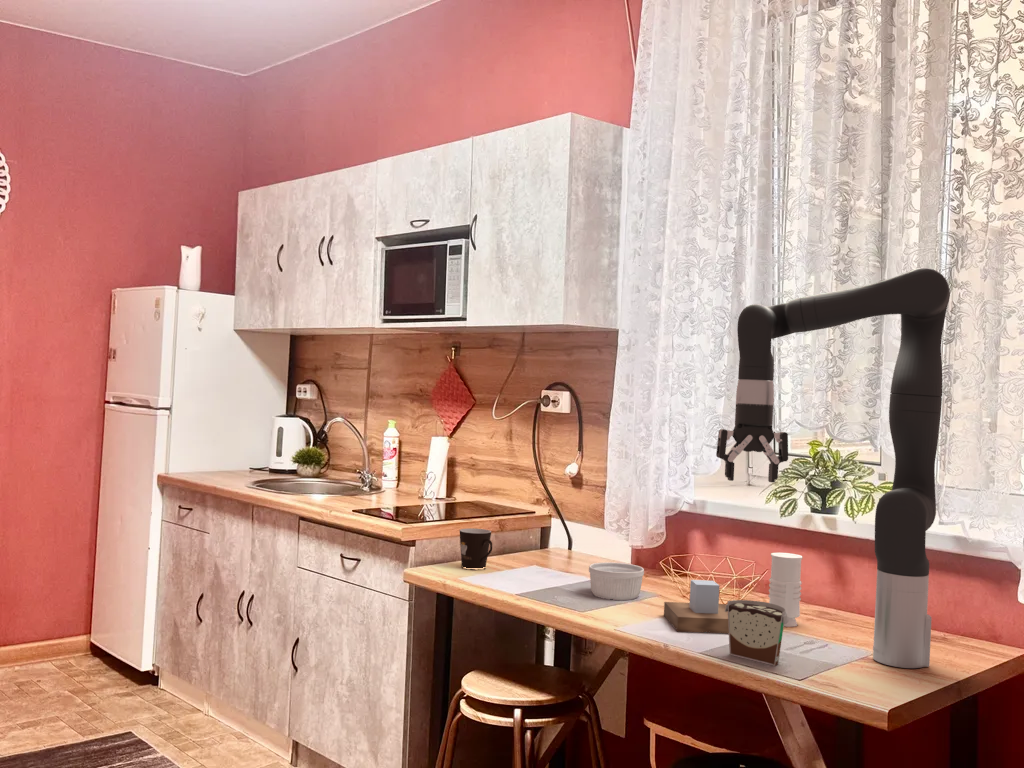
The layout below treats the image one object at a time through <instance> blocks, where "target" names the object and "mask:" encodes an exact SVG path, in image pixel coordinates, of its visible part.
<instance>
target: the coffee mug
mask: <svg viewBox="0 0 1024 768" xmlns="http://www.w3.org/2000/svg"><path fill="white" fill-rule="evenodd" d="M491 537H492V530H489V529H486V528H485V529H484V528H471V527H470V528H469V527H468V528H461V529H459V543H460V560H461V562H460V563H461V567H462V566H463V567H466V568H483V567H487V566H486V565H487V560H488V557H489V556H490V554H491V553H492V550H493V542H492V540H491Z"/></svg>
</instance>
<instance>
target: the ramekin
mask: <svg viewBox="0 0 1024 768" xmlns="http://www.w3.org/2000/svg"><path fill="white" fill-rule="evenodd" d="M588 573H589V578H590V579H589V580H590V589H591V593H593V596H595V595H596V596H595V597H597V596H599V597H598V598H600V597H602V598H601V599H604V598H606V599H605V600H610V599H613V600H612V601H632V600H636V599H637V598H638V596H640V594H641V589H642V584H643V583H642V582H643V576H644V575H645V568H643V567H642V566H640V565H637V564H636V565H635V564H631V563H625V562H614V561H613V562H612V561H611V562H610V561H609V562H607V561H605V562H594V563H591V564H590V565H589V566H588Z"/></svg>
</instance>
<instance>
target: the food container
mask: <svg viewBox="0 0 1024 768" xmlns="http://www.w3.org/2000/svg"><path fill="white" fill-rule="evenodd" d="M726 611H728V628H729V633H728V642H729V643H728V644H729V645H728V646H729V655H731V656H733V657H738V658H741V659H742V658H743V659H745V660H751V661H755V662H758V663H762V664H766V665H770V666H774V667H776V666H778V664H779V659H780V654H781V647H782V639H783V633H784V627H785V626H784V624H787V623H788V618H787V613H786V610H785V609H784V608H783V607H781V606H778V605H775V604H771V603H769V602H767V601H760V600H751V599H749V600H747V599H737V600H736V599H733V600H727V603H726V608H725V612H726Z"/></svg>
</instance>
